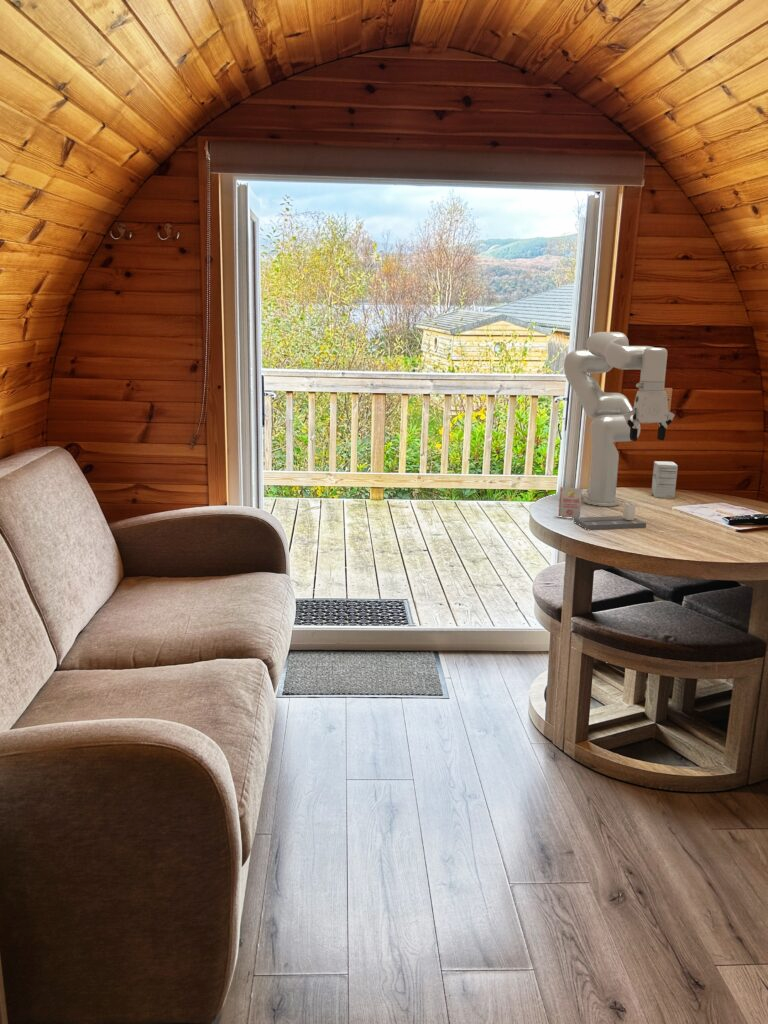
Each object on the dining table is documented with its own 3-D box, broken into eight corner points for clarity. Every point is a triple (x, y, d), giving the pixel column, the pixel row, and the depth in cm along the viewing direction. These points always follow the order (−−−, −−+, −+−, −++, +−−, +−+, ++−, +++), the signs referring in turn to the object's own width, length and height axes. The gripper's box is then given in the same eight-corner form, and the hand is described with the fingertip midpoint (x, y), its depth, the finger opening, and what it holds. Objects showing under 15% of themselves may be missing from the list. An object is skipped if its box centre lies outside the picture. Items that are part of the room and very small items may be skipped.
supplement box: (650, 493, 306) (653, 460, 303) (670, 494, 305) (674, 461, 302) (654, 497, 299) (657, 464, 296) (675, 498, 298) (678, 464, 295)
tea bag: (559, 515, 270) (561, 486, 267) (579, 517, 268) (582, 487, 265) (558, 517, 266) (560, 488, 264) (579, 519, 264) (581, 489, 262)
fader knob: (622, 517, 260) (623, 502, 259) (629, 517, 260) (630, 502, 259) (627, 520, 257) (628, 504, 256) (634, 519, 257) (635, 504, 256)
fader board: (573, 522, 260) (574, 517, 260) (630, 520, 264) (630, 515, 264) (587, 530, 251) (587, 525, 251) (645, 527, 255) (646, 522, 255)
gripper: (632, 388, 251) (628, 442, 255) (682, 387, 254) (677, 441, 258) (621, 386, 258) (616, 438, 262) (670, 385, 261) (665, 438, 265)
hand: (647, 440), depth 260 cm, fingers open, 9 cm apart
